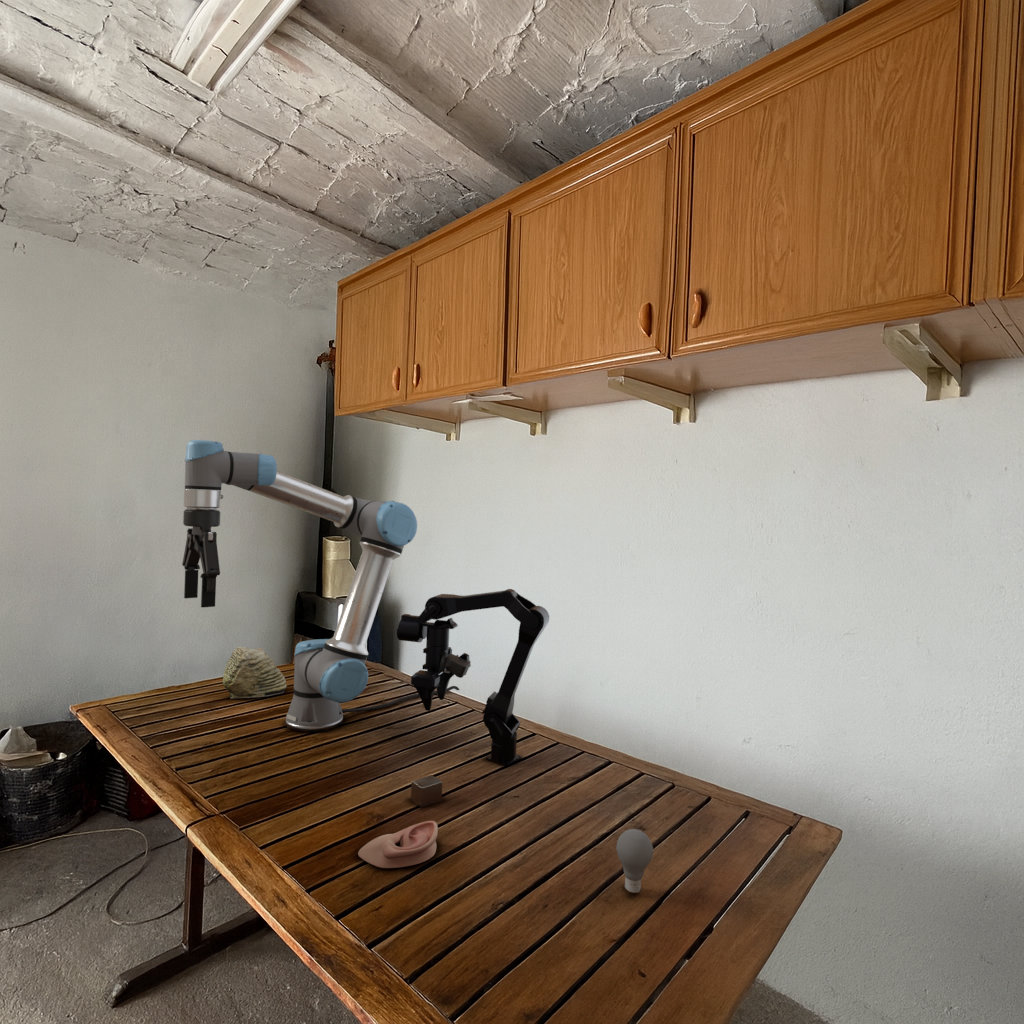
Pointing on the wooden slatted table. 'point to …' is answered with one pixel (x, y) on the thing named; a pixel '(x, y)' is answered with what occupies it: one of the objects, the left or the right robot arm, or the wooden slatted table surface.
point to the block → (426, 791)
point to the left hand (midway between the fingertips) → (199, 602)
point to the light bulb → (634, 857)
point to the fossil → (252, 674)
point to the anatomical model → (402, 846)
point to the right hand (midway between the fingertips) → (434, 704)
